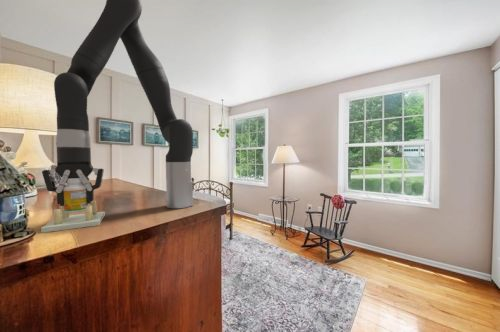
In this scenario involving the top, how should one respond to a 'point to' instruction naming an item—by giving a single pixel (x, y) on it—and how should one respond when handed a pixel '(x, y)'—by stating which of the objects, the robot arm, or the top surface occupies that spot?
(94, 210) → the standoff chassis
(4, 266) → the top surface
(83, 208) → the supplement bottle
